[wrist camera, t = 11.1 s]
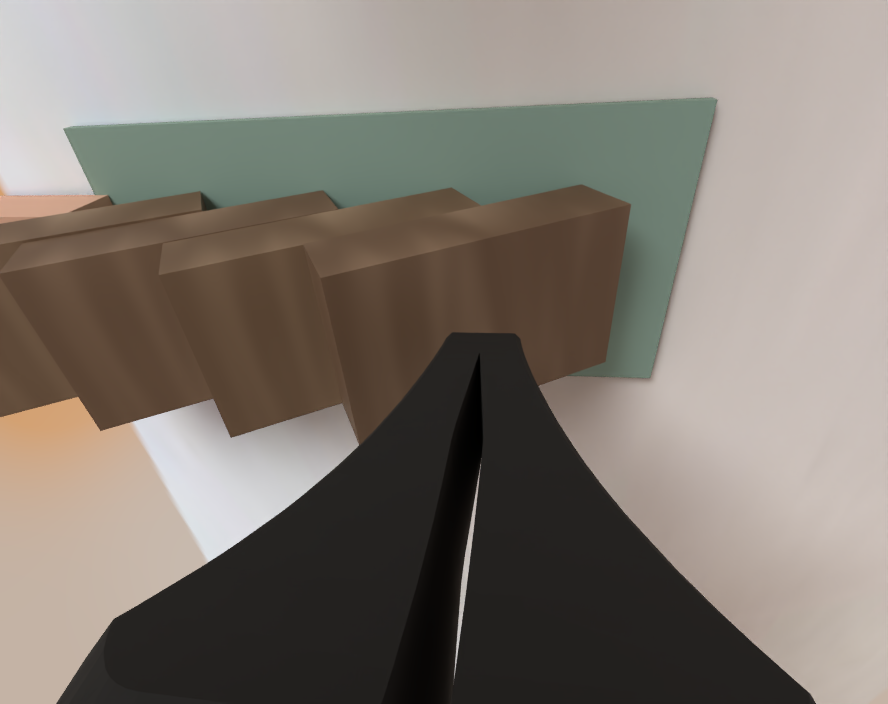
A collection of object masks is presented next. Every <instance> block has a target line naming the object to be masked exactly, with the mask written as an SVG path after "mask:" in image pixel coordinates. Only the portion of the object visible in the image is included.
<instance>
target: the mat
mask: <svg viewBox="0 0 888 704" xmlns="http://www.w3.org/2000/svg"><path fill="white" fill-rule="evenodd" d="M716 103H717V99H715V98H693V99H671V100H649V101H627V102H604V103H582V104H560V105H538V106H516V107H494V108H472V109H449V110H427V111H405V112H383V113H361V114H339V115H316V116H294V117H272V118H250V119H228V120H206V121H183V122H161V123H139V124H117V125H95V126H73V127H68V128H64V131H65V133H66V136H67V138H68V140H69V142H70V144H71V146H72V148H73V150H74V152H75V154H76V156H77V159H78V161H79V163H80V165H81V167H82V169H83V171H84V173H85V175H86V177H87V179H88V182H89V184H90V186H91V188H92V190H93V192H94V194H95V195H108V196H109V198H110V200H111V203H112V205H118V204H125V203H131V202H137V201H143V200H149V199H155V198H161V197H168V196H174V195H180V194H186V193H192V192H198V191H200V192H201V195H202V197H203V200H204V203H205V206H206V209H207V211H208V210H214V209H219V208H225V207H230V206H236V205H242V204H247V203H253V202H259V201H264V200H270V199H276V198H281V197H287V196H292V195H298V194H304V193H309V192H315V191H321V190H323V191H324V192H325V193H326V195H327V196H328V197H329V198H330V200H331V201H332V202H333V203H334V204H335V206H336V207H337V208H338V209H343V208H348V207H353V206H358V205H363V204H369V203H374V202H379V201H384V200H389V199H394V198H400V197H405V196H410V195H415V194H420V193H425V192H431V191H436V190H441V189H446V188H451V187H452V188H453V189H455V190H457V191H458V192H460V193H462V194H463V195H465V196H467V197H468V198H470V199H471V200H473V201H475V202H476V203H478V204H480V205H481V206H482V205H487V204H492V203H496V202H501V201H506V200H510V199H515V198H520V197H524V196H529V195H534V194H538V193H543V192H548V191H552V190H557V189H562V188H566V187H571V186H575V185H580V184H582V185H585V186H587V187H590V188H592V189H595V190H597V191H600V192H602V193H605V194H607V195H610V196H612V197H615V198H617V199H620V200H622V201H625V202H627V203H630V204H631V209H630V215H629V221H628V227H627V233H626V240H625V246H624V252H623V258H622V264H621V270H620V276H619V282H618V288H617V295H616V301H615V307H614V313H613V319H612V325H611V331H610V337H609V343H608V349H607V356H606V362H604V363H601V364H599V365H596V366H593V367H590V368H587V369H584V370H581V371H579V372H576V373H573V374H570V375H567V376H592V377H627V378H650V377H651V372H652V368H653V364H654V360H655V356H656V352H657V348H658V343H659V339H660V335H661V331H662V327H663V323H664V318H665V314H666V310H667V306H668V302H669V298H670V294H671V289H672V285H673V281H674V277H675V273H676V269H677V265H678V260H679V256H680V252H681V248H682V244H683V240H684V236H685V231H686V227H687V223H688V219H689V215H690V211H691V207H692V202H693V198H694V194H695V190H696V186H697V182H698V178H699V173H700V169H701V165H702V161H703V157H704V153H705V148H706V144H707V140H708V136H709V132H710V128H711V124H712V119H713V115H714V111H715V107H716Z"/></svg>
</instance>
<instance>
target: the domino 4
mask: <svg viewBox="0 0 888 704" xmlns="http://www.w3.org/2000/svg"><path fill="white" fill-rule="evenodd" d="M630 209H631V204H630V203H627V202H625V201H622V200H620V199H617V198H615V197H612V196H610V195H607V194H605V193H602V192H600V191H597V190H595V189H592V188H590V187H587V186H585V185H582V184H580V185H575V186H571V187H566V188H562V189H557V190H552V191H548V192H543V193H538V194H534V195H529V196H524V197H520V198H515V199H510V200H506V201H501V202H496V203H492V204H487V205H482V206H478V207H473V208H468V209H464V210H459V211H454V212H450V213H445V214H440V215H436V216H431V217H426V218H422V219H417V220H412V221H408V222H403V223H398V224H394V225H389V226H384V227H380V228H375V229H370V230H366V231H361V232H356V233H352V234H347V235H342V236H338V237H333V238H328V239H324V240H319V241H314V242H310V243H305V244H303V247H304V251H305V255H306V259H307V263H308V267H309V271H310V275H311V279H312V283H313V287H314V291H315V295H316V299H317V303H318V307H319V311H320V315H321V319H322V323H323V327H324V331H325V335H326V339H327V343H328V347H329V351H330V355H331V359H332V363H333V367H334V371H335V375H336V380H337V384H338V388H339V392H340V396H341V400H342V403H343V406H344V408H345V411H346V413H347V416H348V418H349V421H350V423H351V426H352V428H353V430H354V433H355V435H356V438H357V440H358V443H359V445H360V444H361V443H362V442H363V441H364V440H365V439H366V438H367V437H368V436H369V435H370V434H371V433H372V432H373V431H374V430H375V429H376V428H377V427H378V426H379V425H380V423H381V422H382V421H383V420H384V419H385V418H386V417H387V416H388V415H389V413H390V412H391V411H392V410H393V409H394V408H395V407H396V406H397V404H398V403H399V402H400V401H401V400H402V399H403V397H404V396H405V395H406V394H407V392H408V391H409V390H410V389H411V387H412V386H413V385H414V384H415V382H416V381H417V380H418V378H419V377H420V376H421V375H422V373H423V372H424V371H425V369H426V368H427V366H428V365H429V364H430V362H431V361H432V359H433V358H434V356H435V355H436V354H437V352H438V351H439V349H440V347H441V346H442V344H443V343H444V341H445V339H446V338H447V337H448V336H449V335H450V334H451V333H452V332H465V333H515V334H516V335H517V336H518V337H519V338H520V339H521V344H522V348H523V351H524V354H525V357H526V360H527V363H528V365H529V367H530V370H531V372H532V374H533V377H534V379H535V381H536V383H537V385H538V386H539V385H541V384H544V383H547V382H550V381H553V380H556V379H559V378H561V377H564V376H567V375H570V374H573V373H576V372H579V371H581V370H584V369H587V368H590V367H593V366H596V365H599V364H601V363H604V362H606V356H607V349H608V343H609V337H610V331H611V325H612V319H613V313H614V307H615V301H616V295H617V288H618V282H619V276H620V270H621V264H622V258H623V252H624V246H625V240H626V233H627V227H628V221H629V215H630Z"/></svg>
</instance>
